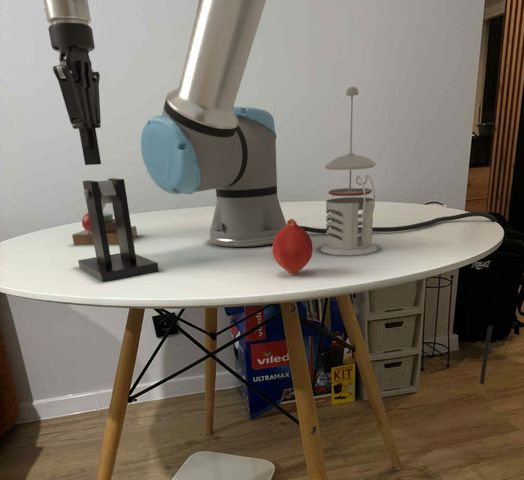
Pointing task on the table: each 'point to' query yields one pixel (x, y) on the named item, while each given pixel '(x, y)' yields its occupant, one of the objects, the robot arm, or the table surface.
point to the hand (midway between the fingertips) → (93, 164)
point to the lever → (106, 197)
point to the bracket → (126, 260)
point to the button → (108, 217)
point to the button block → (111, 231)
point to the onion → (292, 247)
